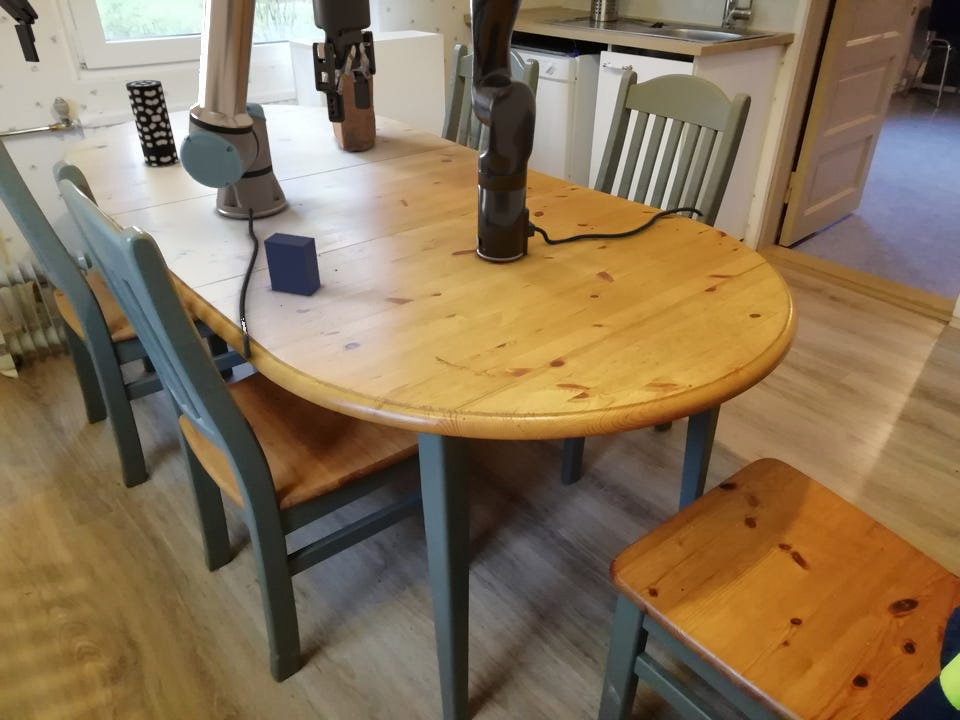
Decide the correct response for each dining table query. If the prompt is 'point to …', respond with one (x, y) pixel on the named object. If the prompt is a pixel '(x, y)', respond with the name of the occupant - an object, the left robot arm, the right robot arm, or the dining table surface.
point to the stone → (356, 121)
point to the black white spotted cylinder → (152, 122)
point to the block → (292, 263)
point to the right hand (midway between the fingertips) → (350, 115)
